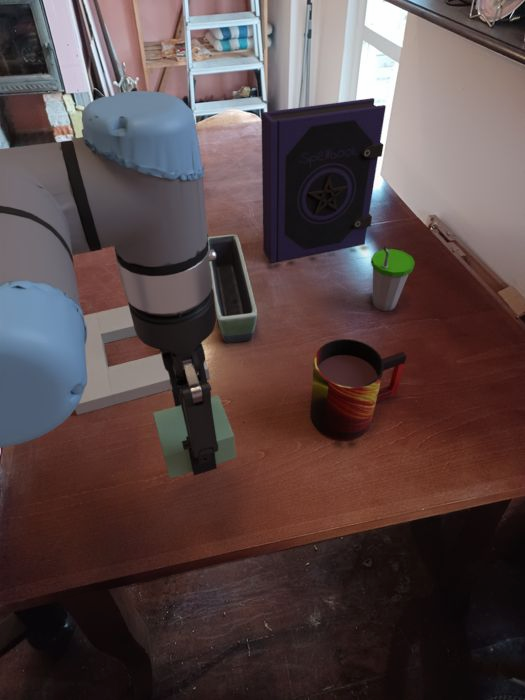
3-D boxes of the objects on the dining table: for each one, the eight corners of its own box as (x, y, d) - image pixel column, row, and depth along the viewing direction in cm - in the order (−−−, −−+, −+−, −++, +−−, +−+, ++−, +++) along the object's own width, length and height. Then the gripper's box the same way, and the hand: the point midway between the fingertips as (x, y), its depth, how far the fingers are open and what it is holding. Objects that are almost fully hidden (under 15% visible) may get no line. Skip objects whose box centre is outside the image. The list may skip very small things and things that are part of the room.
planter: (259, 344, 87) (258, 314, 82) (220, 349, 86) (216, 319, 81) (239, 261, 107) (237, 233, 102) (207, 265, 106) (204, 236, 101)
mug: (396, 397, 78) (411, 343, 69) (349, 452, 70) (359, 399, 62) (346, 369, 82) (355, 316, 74) (297, 418, 75) (300, 365, 67)
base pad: (77, 415, 76) (72, 405, 74) (67, 329, 91) (63, 319, 89) (210, 378, 81) (208, 368, 80) (180, 303, 96) (178, 293, 94)
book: (271, 264, 106) (271, 122, 85) (262, 249, 110) (260, 111, 89) (367, 245, 111) (389, 106, 90) (355, 231, 115) (373, 96, 94)
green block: (169, 478, 55) (164, 456, 52) (158, 435, 59) (152, 412, 56) (236, 458, 57) (234, 435, 54) (220, 417, 61) (218, 394, 58)
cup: (392, 289, 99) (407, 223, 88) (411, 312, 93) (428, 245, 83) (358, 296, 97) (368, 230, 87) (374, 320, 92) (387, 253, 81)
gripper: (246, 354, 36) (252, 504, 52) (186, 231, 49) (206, 381, 65) (147, 379, 34) (185, 527, 50) (112, 244, 47) (151, 395, 63)
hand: (197, 444), depth 58 cm, fingers closed on green block, 6 cm apart
